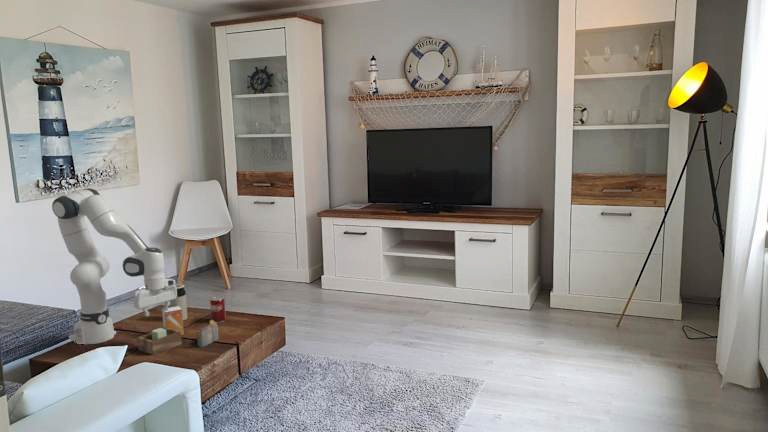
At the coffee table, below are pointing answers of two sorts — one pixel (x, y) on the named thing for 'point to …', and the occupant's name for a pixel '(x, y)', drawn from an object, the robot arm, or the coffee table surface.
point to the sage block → (158, 333)
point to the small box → (173, 319)
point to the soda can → (218, 309)
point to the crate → (159, 342)
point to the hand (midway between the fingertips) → (156, 313)
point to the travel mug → (180, 300)
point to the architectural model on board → (207, 334)
